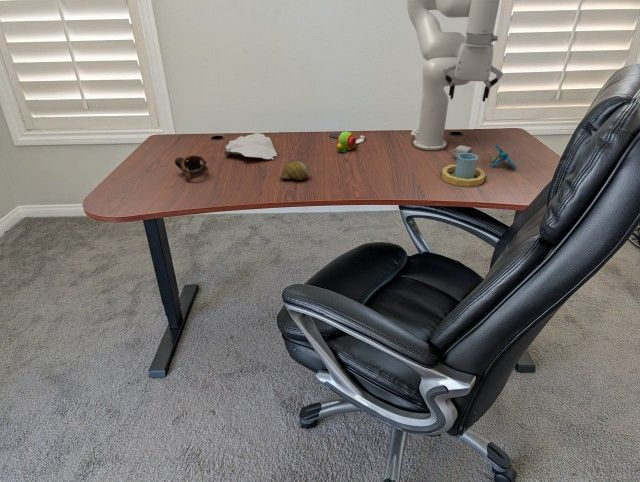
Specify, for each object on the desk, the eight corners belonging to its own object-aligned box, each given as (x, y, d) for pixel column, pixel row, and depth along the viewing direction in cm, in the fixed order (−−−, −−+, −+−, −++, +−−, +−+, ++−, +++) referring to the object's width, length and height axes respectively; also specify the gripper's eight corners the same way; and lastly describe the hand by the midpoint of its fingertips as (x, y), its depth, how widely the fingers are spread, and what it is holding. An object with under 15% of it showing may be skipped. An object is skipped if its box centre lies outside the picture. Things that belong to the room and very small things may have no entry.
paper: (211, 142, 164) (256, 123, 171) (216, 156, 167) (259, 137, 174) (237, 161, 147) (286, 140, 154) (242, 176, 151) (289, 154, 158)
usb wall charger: (465, 161, 152) (467, 150, 150) (447, 156, 156) (449, 146, 154) (470, 158, 154) (472, 147, 152) (453, 153, 158) (454, 143, 156)
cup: (450, 178, 140) (454, 156, 136) (460, 172, 143) (464, 151, 139) (467, 183, 136) (471, 161, 132) (477, 178, 139) (481, 156, 135)
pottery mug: (214, 171, 148) (211, 156, 141) (203, 192, 144) (199, 178, 136) (182, 160, 149) (177, 145, 141) (169, 181, 144) (164, 166, 137)
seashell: (284, 191, 142) (283, 181, 135) (277, 173, 144) (276, 162, 136) (311, 182, 144) (312, 171, 136) (304, 164, 146) (304, 153, 138)
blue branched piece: (520, 169, 141) (501, 146, 139) (504, 180, 143) (485, 158, 142) (513, 161, 151) (495, 139, 149) (498, 171, 153) (481, 151, 151)
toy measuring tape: (330, 152, 161) (330, 135, 158) (357, 137, 175) (357, 121, 171) (345, 155, 158) (345, 138, 155) (370, 140, 171) (371, 124, 168)
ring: (441, 183, 136) (441, 178, 135) (442, 168, 147) (443, 162, 146) (484, 188, 133) (485, 182, 132) (483, 171, 144) (484, 166, 142)
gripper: (509, 38, 124) (496, 98, 134) (448, 36, 129) (440, 94, 139) (510, 43, 119) (496, 104, 128) (446, 40, 123) (438, 100, 133)
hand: (467, 99), depth 133 cm, fingers open, 9 cm apart
